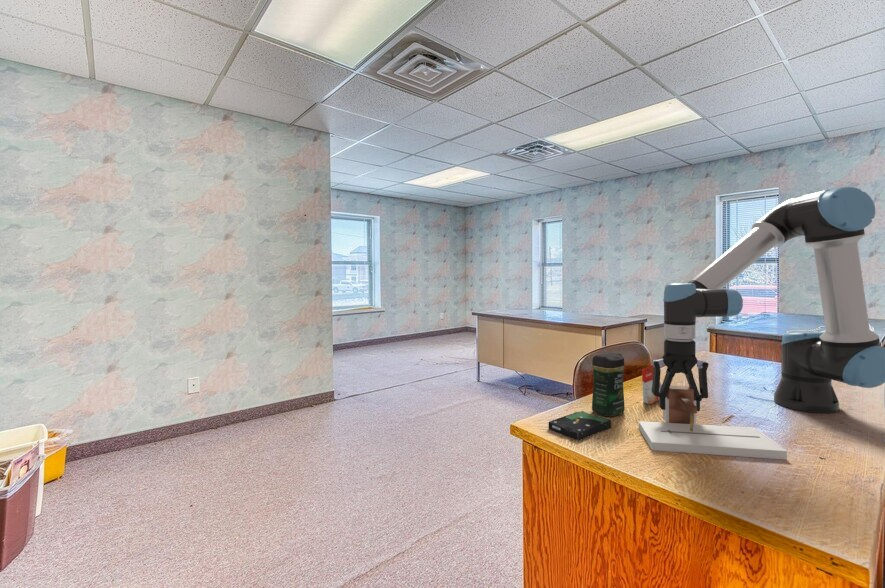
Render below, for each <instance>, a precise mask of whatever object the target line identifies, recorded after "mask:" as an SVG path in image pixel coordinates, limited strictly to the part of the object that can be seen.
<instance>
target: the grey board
mask: <svg viewBox="0 0 885 588" xmlns="http://www.w3.org/2000/svg"><path fill="white" fill-rule="evenodd" d="M638 430H639V431H640V433H641V435H642V436H643V438H644V439H645V441H646V443H647V444H648V446H649V448H650V449H651V451H657V452H658V451H659V452H670V453H671V452H672V453H685V454H686V453H687V454H689V453H690V454H699V455H700V454H702V455H715V456H716V455H717V456H729V457H742V458H743V457H744V458H755V459H756V458H758V459H769V460H771V459H772V460H773V459H774V460H784V461H785V460H788V451H787V450H786V449H785V448H783V447H782V446H781V445H780V444H779V443H777V442H776V441H774V440H773V439H771V438H770V437H769V436H767V435H766V434H764V433H763V432H762V431H760V430H759V429H758V428H756V427H751V426H750V427H747V426H730V425H717V424H716V425H711V424H697V423H696V424H693V431H690V424H680V423H666V422H661V421H660V422H657V421H642V420H640V421H638Z"/></svg>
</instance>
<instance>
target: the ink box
mask: <svg viewBox="0 0 885 588" xmlns="http://www.w3.org/2000/svg"><path fill="white" fill-rule="evenodd" d="M653 369H654V367H653V364H652V365H649V366H647V367H644V368H642V370H641V373H642V374H641V381H642V398H643V399H642V400H643V403H644V404H646V403H647V404H646V405H652V404H654V403H656V402H659V397H658V396H655V395H654V394H653V393H652V383H653ZM648 370H649V371H648ZM661 386H662V382H661V381H660V386H659V392H660V389H661Z"/></svg>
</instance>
